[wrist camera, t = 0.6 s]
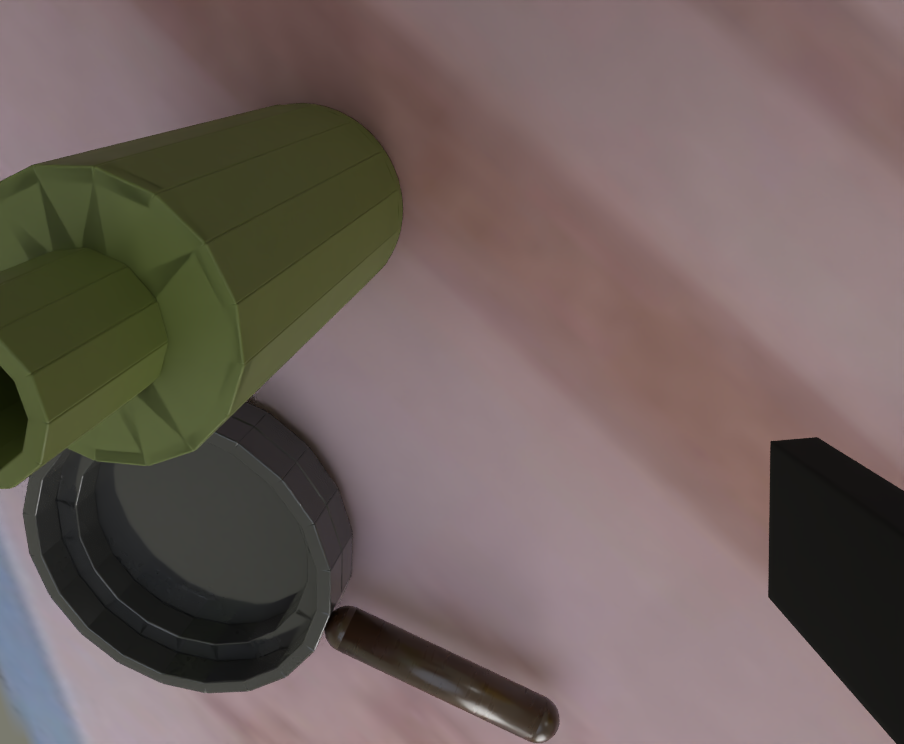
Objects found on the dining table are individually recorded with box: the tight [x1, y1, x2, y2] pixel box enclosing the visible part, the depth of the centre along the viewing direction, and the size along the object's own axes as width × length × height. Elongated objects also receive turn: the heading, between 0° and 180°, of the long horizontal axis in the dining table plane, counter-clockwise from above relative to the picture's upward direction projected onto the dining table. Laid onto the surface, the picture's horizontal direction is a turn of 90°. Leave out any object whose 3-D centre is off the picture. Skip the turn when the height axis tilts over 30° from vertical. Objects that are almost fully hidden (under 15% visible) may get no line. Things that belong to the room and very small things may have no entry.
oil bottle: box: [0, 103, 403, 489], centre depth 22 cm, size 7×7×17 cm
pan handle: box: [325, 606, 559, 743], centre depth 34 cm, size 2×10×2 cm, turn 69°
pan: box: [23, 402, 353, 693], centre depth 35 cm, size 13×13×3 cm
